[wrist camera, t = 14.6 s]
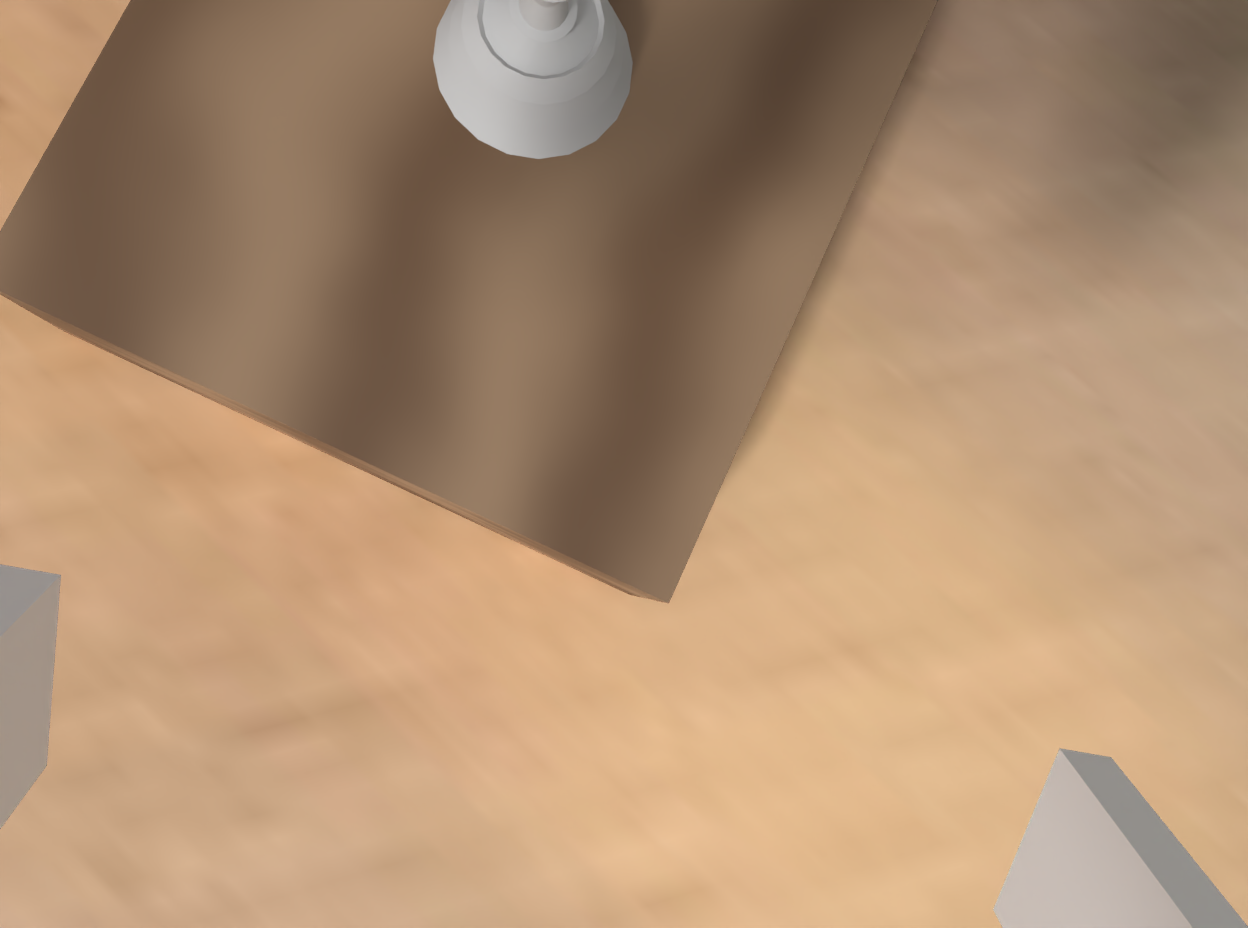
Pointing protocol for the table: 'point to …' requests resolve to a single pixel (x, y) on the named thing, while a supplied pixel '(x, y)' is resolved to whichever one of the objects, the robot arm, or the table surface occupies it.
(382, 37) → the walnut shelf
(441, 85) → the chalice
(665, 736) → the table surface
